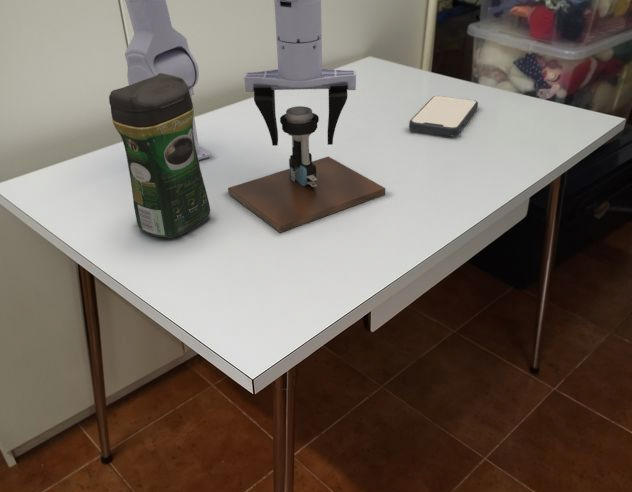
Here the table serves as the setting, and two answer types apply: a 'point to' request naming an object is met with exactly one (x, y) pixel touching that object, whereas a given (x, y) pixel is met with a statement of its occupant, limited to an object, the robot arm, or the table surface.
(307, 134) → the push button
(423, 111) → the phone case
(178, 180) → the coffee jar
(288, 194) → the walnut board
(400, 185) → the table surface
